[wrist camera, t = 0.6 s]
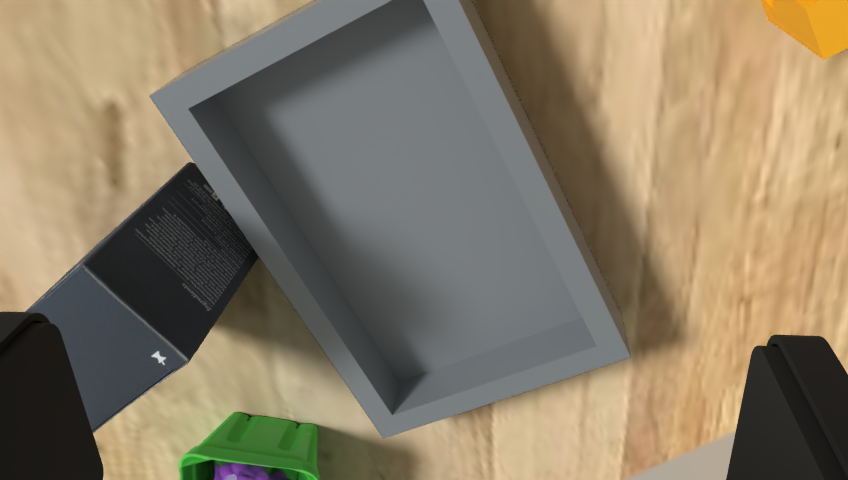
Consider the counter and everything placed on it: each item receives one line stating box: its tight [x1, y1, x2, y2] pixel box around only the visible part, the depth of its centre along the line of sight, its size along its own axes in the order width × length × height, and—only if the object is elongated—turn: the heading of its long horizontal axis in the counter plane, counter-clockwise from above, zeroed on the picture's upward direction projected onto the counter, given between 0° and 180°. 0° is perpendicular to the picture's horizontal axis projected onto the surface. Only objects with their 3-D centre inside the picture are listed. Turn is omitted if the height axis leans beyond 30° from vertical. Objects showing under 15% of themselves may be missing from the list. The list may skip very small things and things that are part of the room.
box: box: [26, 162, 259, 433], centre depth 34 cm, size 8×6×11 cm
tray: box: [150, 0, 631, 439], centre depth 35 cm, size 13×20×4 cm, turn 28°
